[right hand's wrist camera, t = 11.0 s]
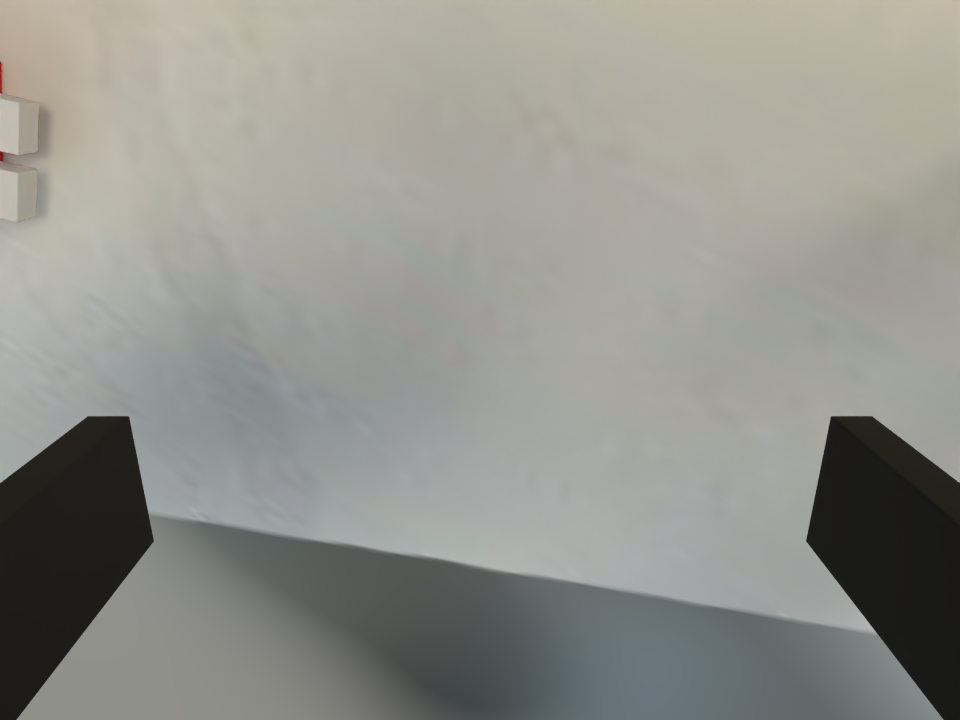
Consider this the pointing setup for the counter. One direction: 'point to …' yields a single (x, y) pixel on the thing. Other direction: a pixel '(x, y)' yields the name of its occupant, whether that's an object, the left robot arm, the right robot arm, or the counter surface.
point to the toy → (16, 132)
